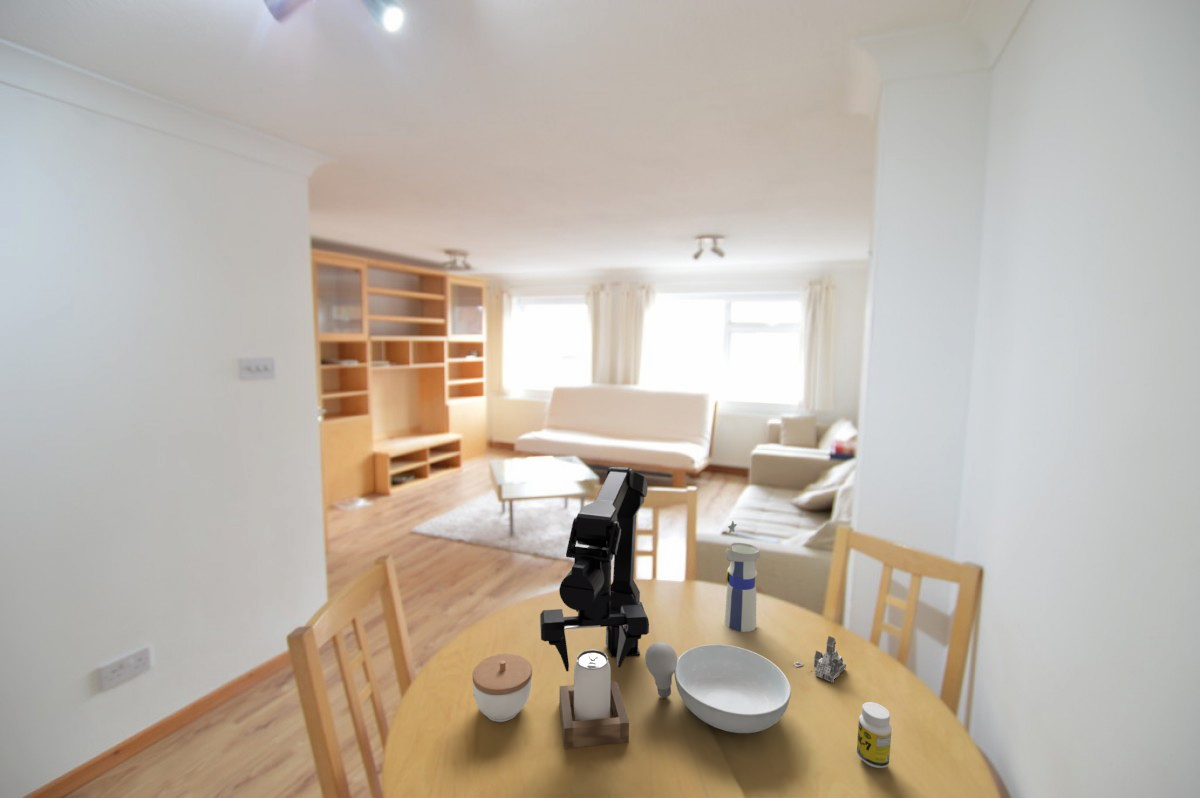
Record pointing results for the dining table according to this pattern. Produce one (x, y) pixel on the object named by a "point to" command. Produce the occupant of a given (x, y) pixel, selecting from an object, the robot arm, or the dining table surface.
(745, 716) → the serving bowl
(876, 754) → the supplement bottle
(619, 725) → the sleeve block
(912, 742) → the dining table surface
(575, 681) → the can
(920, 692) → the dining table surface
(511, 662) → the lidded jar
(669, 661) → the lightbulb
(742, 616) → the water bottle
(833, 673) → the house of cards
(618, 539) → the robot arm
